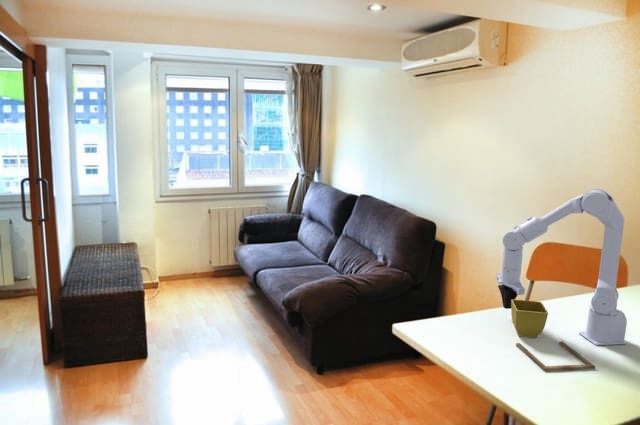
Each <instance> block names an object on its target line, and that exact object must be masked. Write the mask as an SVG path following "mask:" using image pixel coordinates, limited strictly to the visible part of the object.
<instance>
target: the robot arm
mask: <svg viewBox="0 0 640 425" xmlns="http://www.w3.org/2000/svg"><path fill="white" fill-rule="evenodd" d="M584 212H585V213H586V214H588V215H590V216H592V217H594V218H597V220H598V221H600V222H601V224H602V225H603V226H604V230H603V240H602V247H601V254H600V264H599V272H598V279H597V285H596V288H595V289H594V291H593V296H592V298H591V300H590V305H589V306H588V307H589V309H588V314H587V316H588V317H587V324H586V331H578V334H579V335H581V336H582V337H583V338H585V339H587V341H589V342H591V343H592V344H594V345H595V346H609V345H610V346H611V345H613V346H614V345H615V346H616V345H626V344H627V342H626V341H625V338H626V331H627V324H628V321H627V320H628V319H627V316H626V315H625V313H624V312H623V311H622V310H619V309H618V308H617V307H618V299H619V296H620V295H619V291H618V290H617V281H618V271H619V266H620V265H619V263H620V257H621V250H622V249H621V248H622V241H623V234H624V226H625V217H624V215H623V213H622V212H621V210H620V209H619V207H618V205H617V203H616V202H615V199H614V198H613V197H612V195H611V194H609V193H608V192H606V191H605V190H604V189H602V188H601V189H600V188H593V189H591V190H589V191H587V192H586V193H582V194H580V195H577V196H575V197H573V198H571V199H569V200H568V201H566V202H565V203H562V204H561V205H559V206H558V207H557V208H555V209H553V210H552V211H550V212H549V213H547V214H545V215H544V216H537V215H536V216H529V217H528V218H526V220H527V221H525V222H523V223H521V224H520V225H515V226H514V227H513V229H512V230H509V231H508V232H507V233H505V235H504V236H503V238H502V243H503V244H502V245H503V253H502V260H501V271H500V273H496V275H495V276H496V277H495V279H496V283H497V284H498V285H497V288H498V290H499V292H500V296H501V302H502V308H504V309H505V310H507V309H510V310H511V300H516V299H517V297H518V295H521V296H522V295H525V290H526V288H525V287H523V285H522V282H521V272H522V266H523V265H522V264H523V251H524V249H523V248H524V247H523V246H524V245H525V244H526V243H530V242H532V241H534V240H535V239H538V238H539V237H541V236H543V235H544V234H546V233H547V232H548V229H549V228H548V227H549V226H551V225H553V224H555V223H556V222H558V221H560V220H562V219H564V218H566V217H567V216H569V215H571V214H581V215H582V214H583V213H584Z"/></svg>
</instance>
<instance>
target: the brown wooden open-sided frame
mask: <svg viewBox="0 0 640 425" xmlns="http://www.w3.org/2000/svg"><path fill="white" fill-rule="evenodd" d="M558 345H559V346H561V347H562V348H563V349H564V350H566V351H567V352H569V353H570V354H571V355H573V356H574V357H575V358H577V360H579V361H580V362H581V363H583V364H563V365H545V364H544V363H543V362H542V361H541V360H539V359H538V358H537V357H536V356H535V355H534V354H533V353H531V352H530V351H529V350H528V349H527V348H526V347H525V346H524V345H523V344H521V343H520V342H517V343H515V346H516V347H517V348H518V349H519V350H520V351H521V353H523V354H525V355H526V356H527V358H529V359H530V360H531V361H532V362H533V363H534V364H535V365H536V366H538V367H539V369H541V370H542V371H543V372H553V371H557V372H559V371H579V370H595V369H596V365H595V364H593V363H592V362H591V361H590V360H588V359H587V358H585V357H584V356H583V355H581V354H580V353H579V352H578V351H576V350H575V349H573V348H572V347H570V345H568V344H567V343H566V342H564V341H563V340H562V341H561V340H560V341H558Z"/></svg>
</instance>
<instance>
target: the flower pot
mask: <svg viewBox="0 0 640 425" xmlns="http://www.w3.org/2000/svg"><path fill="white" fill-rule="evenodd" d="M510 310H511V320H512V324H513V327H514V329H515V332H516V333H517V336H519V337H523V338H524V337H525V338H535V339H536V338H538V337H539V336H540V335H541V334H542V332H543V331H544V329H545V327H546V323H547V319H548V316H549V312H548V309H547V308H546V307H545V306H544V304H543V302H542V301H536V300H523V299H515V300H511V309H510Z"/></svg>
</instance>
